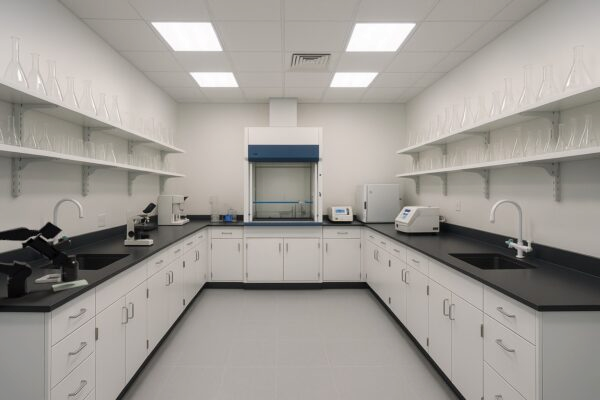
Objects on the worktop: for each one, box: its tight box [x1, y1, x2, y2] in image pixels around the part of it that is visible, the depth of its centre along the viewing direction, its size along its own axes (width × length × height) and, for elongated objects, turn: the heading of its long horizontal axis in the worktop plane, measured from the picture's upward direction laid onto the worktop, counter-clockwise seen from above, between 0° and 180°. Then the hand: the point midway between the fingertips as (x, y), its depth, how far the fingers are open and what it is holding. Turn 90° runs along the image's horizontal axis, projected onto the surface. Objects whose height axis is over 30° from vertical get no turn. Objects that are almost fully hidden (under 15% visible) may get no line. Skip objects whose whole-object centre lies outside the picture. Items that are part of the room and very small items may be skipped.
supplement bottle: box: [60, 254, 79, 283], centre depth 141 cm, size 7×7×12 cm
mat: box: [51, 279, 89, 292], centre depth 142 cm, size 13×10×1 cm
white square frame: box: [35, 273, 61, 284], centre depth 152 cm, size 10×10×2 cm
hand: (73, 266), depth 142 cm, fingers closed on supplement bottle, 7 cm apart
